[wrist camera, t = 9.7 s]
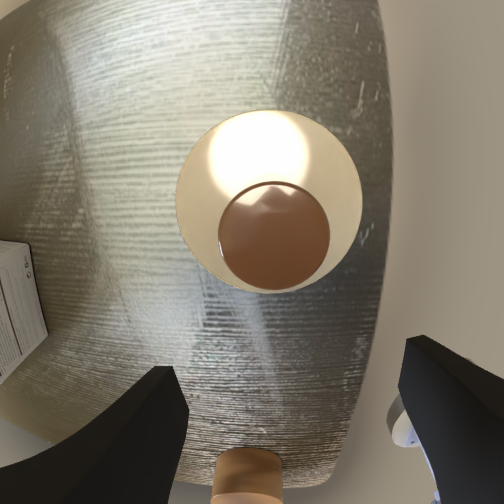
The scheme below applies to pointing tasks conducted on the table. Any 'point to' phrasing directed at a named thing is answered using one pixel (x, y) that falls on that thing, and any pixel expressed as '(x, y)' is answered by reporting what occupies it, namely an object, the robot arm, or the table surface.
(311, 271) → the lid
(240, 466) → the stand
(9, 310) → the white product box
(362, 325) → the table surface
